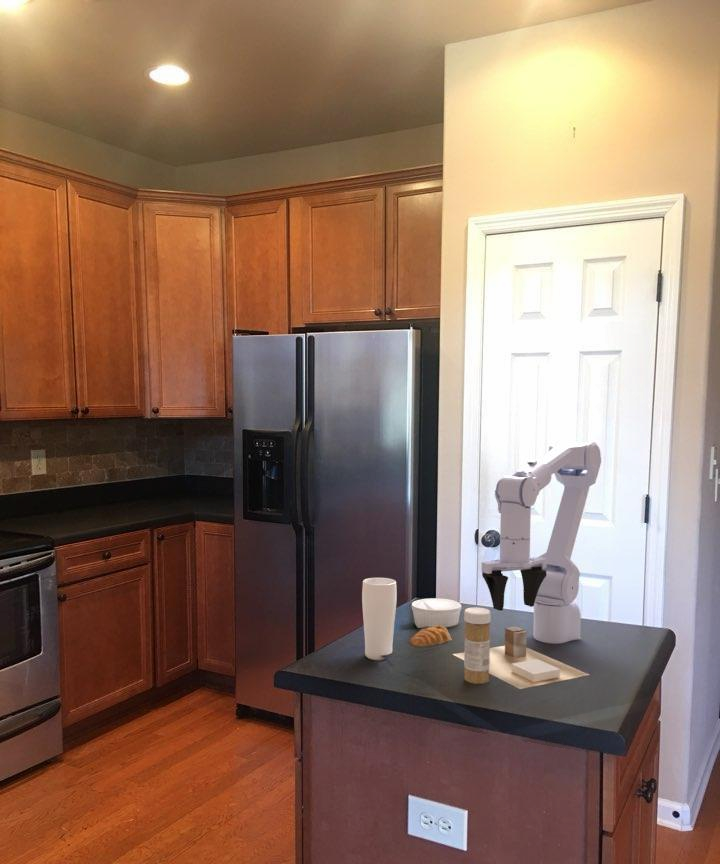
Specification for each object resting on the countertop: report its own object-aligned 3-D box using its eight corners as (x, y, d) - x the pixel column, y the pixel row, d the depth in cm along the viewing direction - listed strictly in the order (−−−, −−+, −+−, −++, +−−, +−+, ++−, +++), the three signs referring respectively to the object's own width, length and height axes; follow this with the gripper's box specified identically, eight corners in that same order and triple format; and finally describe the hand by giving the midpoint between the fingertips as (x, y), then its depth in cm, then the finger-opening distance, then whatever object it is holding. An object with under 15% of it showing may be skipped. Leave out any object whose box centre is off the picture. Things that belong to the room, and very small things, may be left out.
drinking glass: (402, 656, 140) (403, 581, 140) (380, 665, 135) (381, 586, 135) (377, 649, 144) (378, 575, 144) (354, 656, 139) (355, 580, 139)
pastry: (425, 656, 141) (426, 637, 141) (400, 648, 146) (400, 630, 146) (454, 646, 148) (454, 627, 148) (429, 639, 153) (429, 621, 153)
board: (517, 649, 145) (517, 643, 145) (589, 681, 127) (589, 674, 127) (452, 660, 138) (452, 654, 138) (519, 696, 120) (519, 689, 120)
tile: (537, 658, 131) (560, 669, 126) (536, 667, 131) (559, 677, 126) (511, 663, 128) (533, 674, 123) (511, 672, 128) (533, 683, 123)
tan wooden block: (515, 651, 140) (515, 626, 140) (526, 656, 137) (526, 630, 137) (504, 653, 139) (505, 627, 139) (515, 658, 136) (515, 632, 136)
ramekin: (401, 626, 162) (401, 603, 161) (433, 617, 169) (434, 595, 169) (438, 637, 153) (438, 613, 153) (471, 627, 161) (471, 604, 161)
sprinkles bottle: (477, 679, 128) (478, 605, 128) (495, 687, 124) (496, 611, 124) (458, 684, 125) (459, 608, 125) (475, 692, 121) (476, 614, 121)
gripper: (498, 542, 131) (496, 616, 131) (557, 538, 138) (556, 608, 138) (475, 537, 138) (474, 607, 138) (533, 533, 144) (532, 600, 144)
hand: (513, 607), depth 138 cm, fingers open, 7 cm apart
